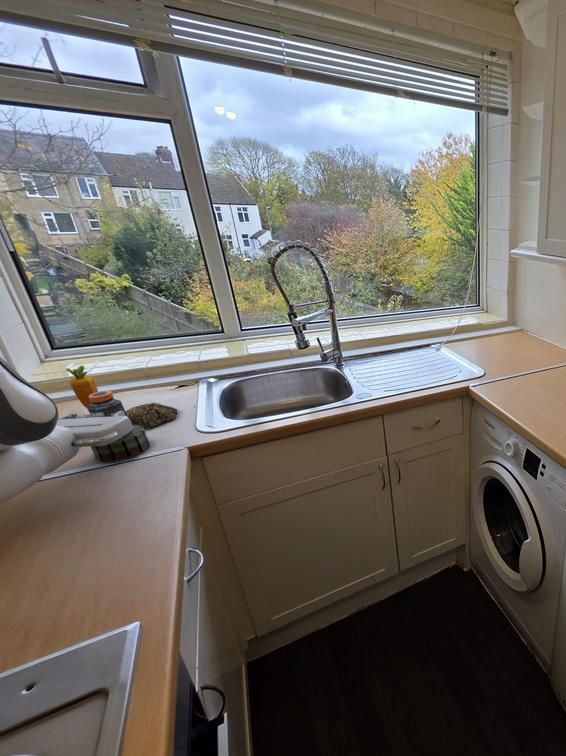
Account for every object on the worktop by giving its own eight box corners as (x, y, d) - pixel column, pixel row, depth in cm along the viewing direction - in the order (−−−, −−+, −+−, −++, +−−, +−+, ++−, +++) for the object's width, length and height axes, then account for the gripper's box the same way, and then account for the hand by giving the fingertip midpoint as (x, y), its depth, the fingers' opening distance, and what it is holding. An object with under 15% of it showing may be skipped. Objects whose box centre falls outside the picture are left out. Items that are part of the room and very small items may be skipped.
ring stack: (94, 467, 96) (86, 450, 94) (99, 448, 103) (92, 432, 101) (149, 453, 101) (142, 437, 99) (150, 437, 108) (144, 421, 107)
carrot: (79, 416, 118) (57, 368, 112) (97, 408, 122) (77, 362, 116) (93, 418, 117) (72, 369, 111) (111, 410, 122) (92, 363, 116)
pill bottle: (132, 426, 104) (116, 386, 99) (134, 435, 100) (117, 393, 96) (100, 434, 100) (82, 393, 96) (101, 444, 96) (82, 401, 92)
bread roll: (111, 426, 113) (104, 410, 111) (157, 407, 124) (151, 392, 122) (145, 433, 110) (138, 417, 108) (189, 413, 121) (184, 398, 119)
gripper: (99, 429, 83) (143, 400, 95) (-21, 436, 79) (41, 405, 92) (111, 455, 85) (152, 423, 98) (-5, 463, 82) (53, 429, 94)
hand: (97, 415), depth 95 cm, fingers open, 8 cm apart
